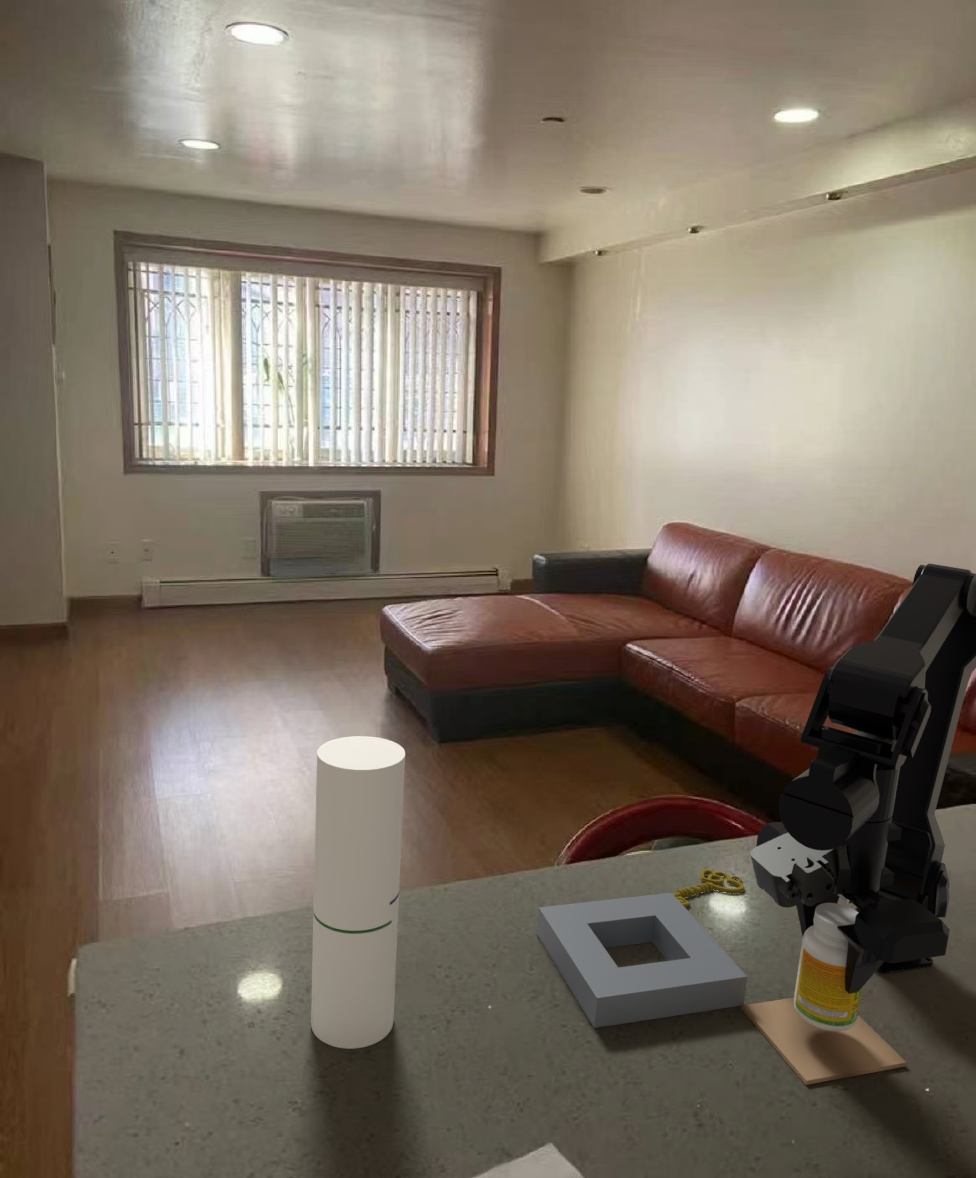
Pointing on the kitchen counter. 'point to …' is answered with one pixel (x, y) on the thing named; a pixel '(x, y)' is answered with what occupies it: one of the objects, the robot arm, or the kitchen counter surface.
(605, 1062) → the kitchen counter surface
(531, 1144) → the kitchen counter surface
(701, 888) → the key
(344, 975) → the cylindrical container
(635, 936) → the grey rectangular frame
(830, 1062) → the pad
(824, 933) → the supplement bottle
